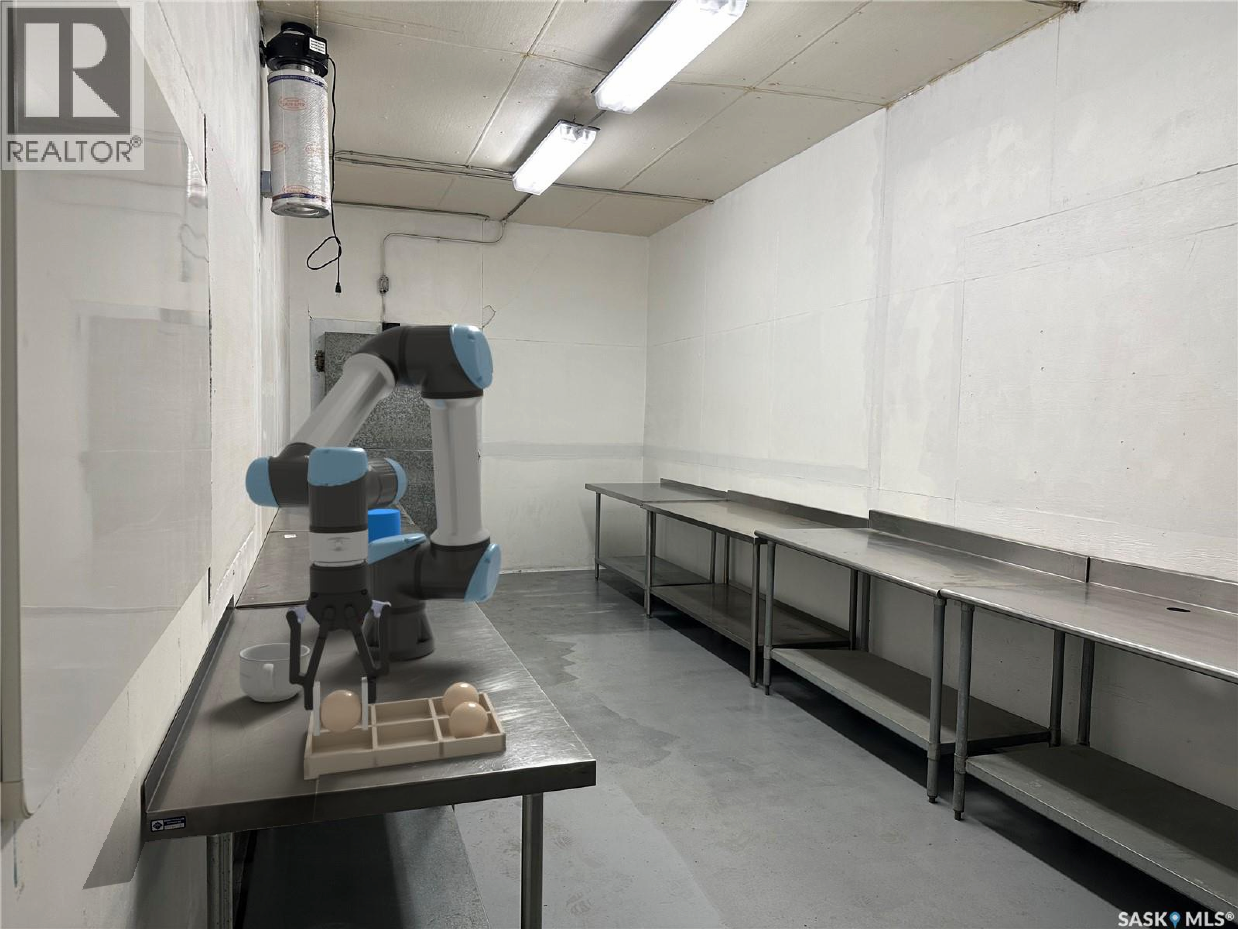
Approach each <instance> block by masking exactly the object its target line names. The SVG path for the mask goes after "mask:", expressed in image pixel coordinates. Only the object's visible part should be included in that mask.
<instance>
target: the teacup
mask: <svg viewBox="0 0 1238 929" xmlns="http://www.w3.org/2000/svg"><path fill="white" fill-rule="evenodd" d="M310 652H311V650H310V648H309V647H308V646H307V645H303V644H301V658H300V672H301V673H305V674H306V672H307V668H308V665H309V661H310V659H309V657H310ZM238 656H239V686H240V688H241V691H242V692H243V693H244V694H245V695H247V696H248V697H250V698H251V699H252V700H253V701H255V702H260V703H261V702H262V703H276V702H281V701H286V700H290V699H291V698H293V697H294V696H295V695H297V694H298V693H299V692H301V690H302V689H304V688H303V686H301V685H298V684H294V685H293V684H290V682H289V663H290V642H287V643H286V642H273V643H265V644H264V643H263V644H257V645H254V646H250V647H246V648H244V649H243V650H241V651H240V652H239V655H238Z"/></svg>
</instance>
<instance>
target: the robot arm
mask: <svg viewBox="0 0 1238 929" xmlns="http://www.w3.org/2000/svg"><path fill="white" fill-rule="evenodd" d="M491 352H492V351H491V348H490V345H489V343H488V340H487V338H486V336H485V335H484V333H483V331H481V330H480V329H479V328H478V327H476V326H472V325H461V324H456V323H455V324H444V325H443V324H442V325H441V324H440V325H438V324H437V325H436V324H435V325H431V324H430V325H408V324H407V325H400V326H393V327H391V328H388V329H385V330H383V331H382V332H379V333H378V334H376V335H374V336H373V337H371V338H369V339H368V340H366V341H365V342H363V343H362V344H361V345H360V346H358V347H357V348H356V349H355V350H354V351H353V352H352V353H351V354H350V355H349V356H348V358H347V359H346V360H345V362H344V364H343V365H342V366H343V368H342V375H341V377H340V378H339V379H338V380H337V382H336V383H335V384H334V385H333V387H331V389H330V390H329V391H328V393H327V394H326V395H325V397H324V398H323V399H322V400H321V402H320V403H319V404H318V405H317V407H315V409H314V410H313V412H312V413H311V414H310V415H309V416H308V418H307V419H306V420H305V422H304V423H303V424H302V425H301V427H300V428H299V430H298V431H296V433H295V434H294V436H293V437H292V438H291V439H290V441H289V442H288V443H287V444H286V445H285V447H284V448H283V449H282V450H281V452H280V453H279V455H278V456H273V455H268V456H267V457H266V456H265V457H258V458H256V459H254V460H252V462H251V463H250V464H249V466H248V468H247V469H246V474H245V482H244V484H245V490H246V492H247V494H248V497H249V499H250V501H252V502H253V503H254V504H255V505H256V506H260V507H267V508H268V507H269V508H277V509H308V515H309V516H308V518H309V526H308V527H309V528H308V542H309V544H308V545H309V547H308V548H309V549H308V550H309V551H308V552H309V557H308V558H309V560H310V561H312V562H313V563H311V565H310V566H309V597H308V599H307V601H306V603H305V604H304V605H300V606H298V607H294V606H293V607H292V606H290V607H289V608H288V609H287V611H286V613H285V619H286V621H287V624H288V627H289V631H290V633H289V637H290V638H289V643H290V663H289V682H290V684H293V685H294V684H298V685H301V686H303V688H302V689H303V705H304V706H303V707H304V710H305V711H311V710H313V724H314V736H319V735H320V728H321V725H320V706H321V681H315V680H316V676H317V672H318V669H319V665H320V663H321V662H320V661H321V659H322V655H323V652H324V649H325V645H326V642H327V639H328V635H329V632H336V631H338V630H343V631H351V634H352V635H351V636H352V637H353V639H354V642H355V645H356V648H357V652H356V653H357V655H358V656H359V658H360V660H361V663H362V667H363V670H364V672H365V676H363V677H361V702H362V731H363V730H368V704H376V703H377V702H376V701H377V700H378V699H377V683H378V682H377V681H378V680H379V679H380V678H382V677H385V676H389V675H390V673H391V667H390V666H391V663H390V662H393V661H394V662H395V661H405V660H411V659H412V660H413V659H416V658H421V657H424V656H426V655H428V654H431V653H432V652H434V651H435V649H436V637H435V633H434V629H433V627H432V625H431V621H430V618H429V616H428V613H427V601H428V602H429V601H432V602H451V603H452V602H454V603H464V604H469V603H483V602H486V601H487V600H489V599H490V598H491V596H492V595H493V594H494V591H495V589H496V586H497V584H498V580H499V576H500V571H501V565H502V564H501V563H502V551H501V547H500V545H499V544H497V543H495V542H491V533H490V531H489V530H488V529H487V528H486V527H484V526H483V524H482V502H481V499H482V498H481V483H480V481H481V480H480V462H479V459H480V458H479V440H478V423H477V422H478V418H477V405H478V404H479V402H480V401H481V400H482V399H483V398H484V397H485V395H484V390H485V389H487V388H489V387H490V386H491V384H492V382H493V373H494V365H493V358H492V357H493V356H492V353H491ZM402 388H411V389H413V388H414V389H416V388H418V389H420V398H421V400H422V401H423V402H424V403H426V404H427V406H428V407H429V411H430V429H431V442H432V443H431V444H432V445H431V446H432V447H431V448H432V460H433V461H432V462H433V478H434V495H435V497H434V498H435V509H436V510H435V512H436V524H437V525H436V529H435V530H434V532H433V533H432V534H431V535H430V536H429V541H427V537H426V534H424V533H418V532H417V533H406V534H401V535H397V536H391V537H386V538H382V539H378V540H375V541H372V542H371V543H369V544H368V511H370V510H375V509H386V508H388V507H389V506H391V505H394V504H396V503H397V502H399V501H400V499H402V498H403V496H404V494H405V492H406V490H407V483H408V482H407V476H406V473H405V469H404V468H403V467H402V466H401V465H400V464H399V463H398V462H397V461H395V460H393V459H392V458H388V457H382V456H381V457H377V456H374V457H371V458H368V454H367V452H366V450H365V449H363V448H362V447H355V446H352V447H350V446H349V445H350V444H351V442H352V440H353V439H354V438H355V435H356V434H357V433H358V432H359V430H360V429H361V427H362V426H363V424H364V423H365V421H366V420H367V419H368V417H369V416H370V414H371V413H372V411H373V410H374V409H375V408H376V405H377V404H378V402H379V401H381V400H383V399H386V398H388V397H389V396H390V395H391V394H392V393H393V391H394V390H398V389H402ZM364 559H365V560H364ZM307 614H309V615H310V616H311V618H313V620H314V621H315V622H316V623H317V625H318V626H319V627H318V631H317V635H316V639H315V641H314V645H313V648H312V651H311V654H310V659H309V662H308V668H307V672H306V674H305V673H301V672H300V658H301V645H302V644H301V643H302V624H303V623H304V622H305V619H306V615H307ZM365 615H366V617H365V620H364V623H363V624H362V622H361V621H362V619H363V618H364V616H365ZM374 661H377V662H379V664H378V665H376V666H375V664H374Z"/></svg>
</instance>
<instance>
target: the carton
mask: <svg viewBox="0 0 1238 929" xmlns="http://www.w3.org/2000/svg"><path fill="white" fill-rule="evenodd" d="M478 695H479V705H481V706H482V707H483V708H484V709H485V711H486V713H487V716H488V726H487V729H486V731H485V733H484V734H483V735H482V736H475V737H467V738H459V739H456V738H455V737H454V736H453V735H452V734H451V732H450V729H449V717H450V716H448V715H447V714H446V713H445V711H444V709H443V705H442V700H443V696H444V695H442V696H441V695H440V696H435V697H434V696H432V697H424V698H423V697H422V698H414V699H406V700H396V701H387V702H386V701H385V702H380V703H379V702H378V703H377V702H375V703H372V704H368V730H363V731H362V716H361V719H360V720H359V722H358V723H357V725H356V726H355V727H353V728H352V729H350V730H349V731H346V732H342V733H335V732H332V731H329V730H328V729H326V728H325V727H324V726H323V725H322V723H321V721H320V725H321V728H320V735H319V736H314V724H313V710H310V717H309V724H308V728H307V736H306V737H307V738H306V743H305V750H304V756H303V779H304V781H306V780H307V781H308V780H314V779H319V778H320V777H319V776H320V775H326V774H327V775H328V774H333V773H341V772H342V773H343V772H350V771H357V770H363V769H364V770H365V769H373V768H380V767H387V766H394V765H395V766H396V765H404V764H409V763H417V762H418V763H419V762H425V761H433V760H434V761H435V760H441V759H447V758H456V757H462V756H463V757H464V756H470V755H477V754H486V753H492V752H500V751H506V750H507V734H506V732H505V730H504V727H503V725H502V723H501V721H500V719H499V717H498V715H497V712H496V710H495V708H494V706H493V704H492V702H491V700H490V698H489V695H488V693H487V691H481V692H478Z"/></svg>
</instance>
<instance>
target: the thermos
mask: <svg viewBox="0 0 1238 929" xmlns="http://www.w3.org/2000/svg"><path fill="white" fill-rule="evenodd" d="M401 517H402V516H401V512H400V510H399V509H393V508H391V509H390V508H383V509H380V508H379V509H375V510H370V511H368V544H369V543H371V542H372V541H375V540H378V539H382V538H386V537H391V536H397V535H402V530H401V529H402V527H401V526H402V525H401V522H402V520H401V519H402V518H401ZM364 560H365V559H364ZM365 617H366V615H365V616H364V618H363V619H362V621H361V622H360V623H361V624H362V623H364V620H365Z"/></svg>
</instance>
